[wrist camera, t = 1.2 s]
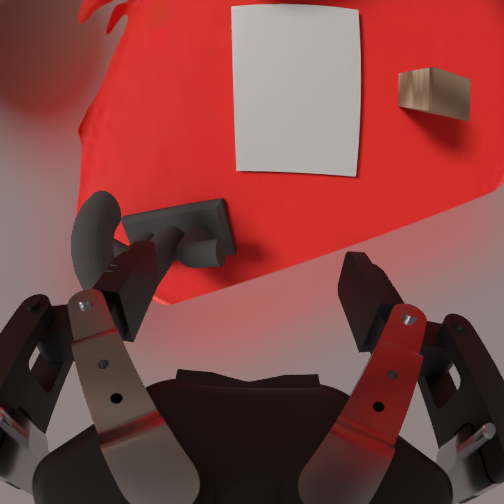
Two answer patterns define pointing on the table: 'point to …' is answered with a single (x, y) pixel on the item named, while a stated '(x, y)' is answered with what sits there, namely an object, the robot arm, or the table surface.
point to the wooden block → (435, 92)
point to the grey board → (296, 88)
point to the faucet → (150, 235)
